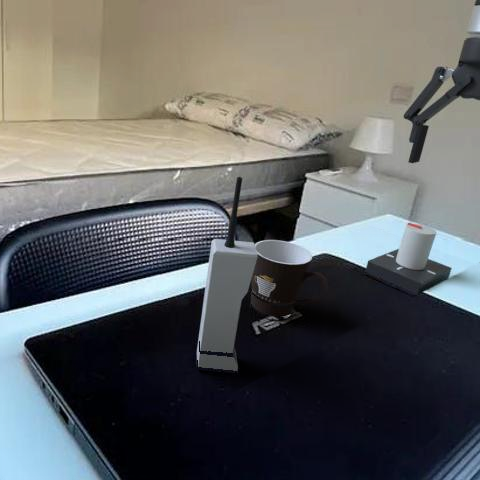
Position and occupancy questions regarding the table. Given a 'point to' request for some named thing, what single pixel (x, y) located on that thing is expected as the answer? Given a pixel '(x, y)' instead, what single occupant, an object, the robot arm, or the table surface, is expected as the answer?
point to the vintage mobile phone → (225, 294)
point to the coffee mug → (281, 276)
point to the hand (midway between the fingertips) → (452, 171)
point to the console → (408, 273)
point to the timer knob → (415, 246)
